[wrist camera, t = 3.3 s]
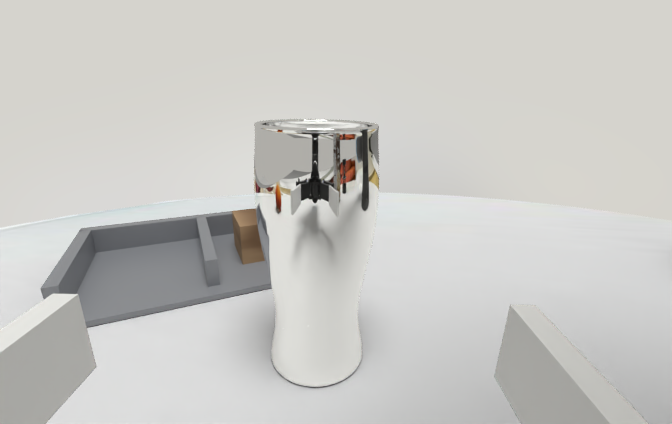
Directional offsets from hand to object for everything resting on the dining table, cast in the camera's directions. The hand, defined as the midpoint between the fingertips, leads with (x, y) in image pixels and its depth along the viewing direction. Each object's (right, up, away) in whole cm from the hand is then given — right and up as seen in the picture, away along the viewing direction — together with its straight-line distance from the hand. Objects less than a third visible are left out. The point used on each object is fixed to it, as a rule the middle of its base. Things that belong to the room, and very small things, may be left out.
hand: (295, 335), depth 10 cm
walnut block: (-7, 0, +26) cm, 27 cm away
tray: (-12, -1, +24) cm, 27 cm away
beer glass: (0, -6, +12) cm, 14 cm away
